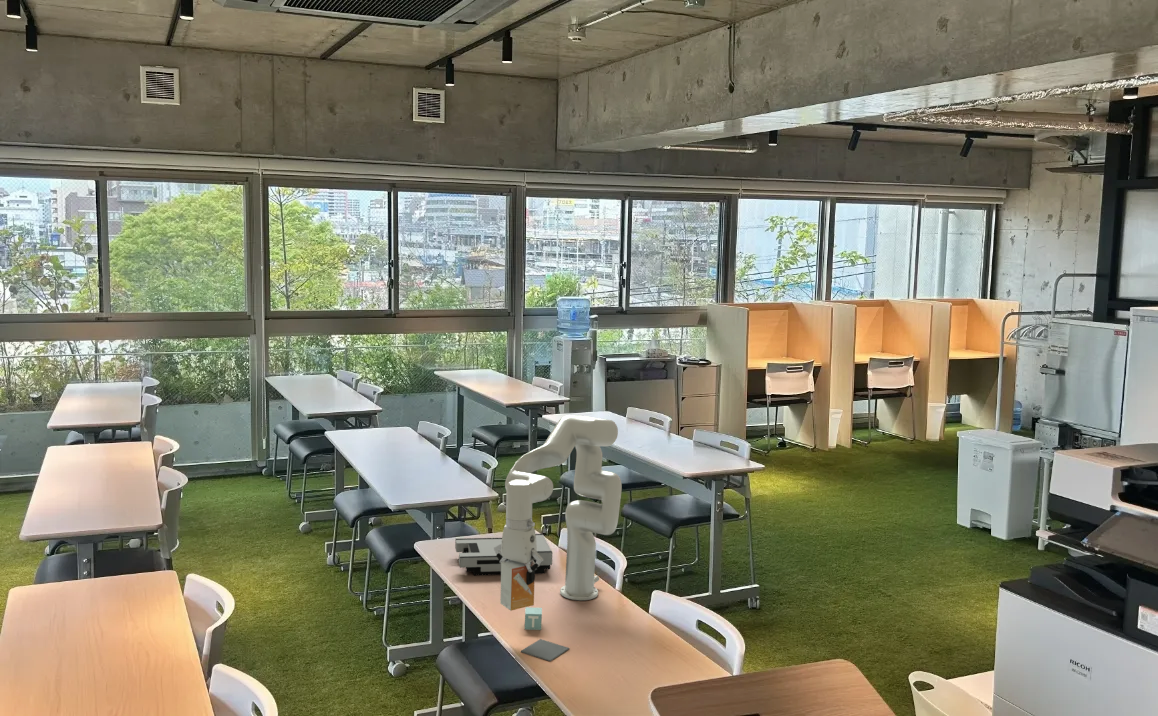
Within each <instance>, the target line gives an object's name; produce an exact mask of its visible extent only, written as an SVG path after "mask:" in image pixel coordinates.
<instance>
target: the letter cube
mask: <svg viewBox="0 0 1158 716" xmlns="http://www.w3.org/2000/svg"><path fill="white" fill-rule="evenodd" d="M524 610H525V611H524V630H528V631H529V630H530V631H534V630H535V631H536V630H537V631H541V630H542V619H543V608H542V607H533V606H528V607H525V609H524Z"/></svg>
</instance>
